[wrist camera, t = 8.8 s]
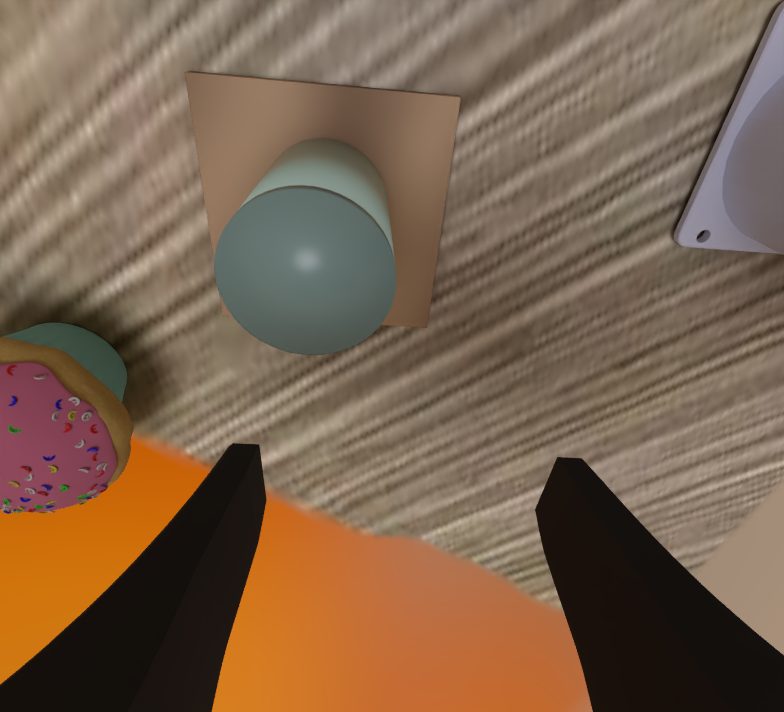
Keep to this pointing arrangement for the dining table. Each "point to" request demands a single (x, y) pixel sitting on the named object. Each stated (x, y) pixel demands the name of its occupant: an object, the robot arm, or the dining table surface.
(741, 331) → the dining table surface
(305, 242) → the cylinder
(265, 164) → the coaster
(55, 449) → the cupcake
